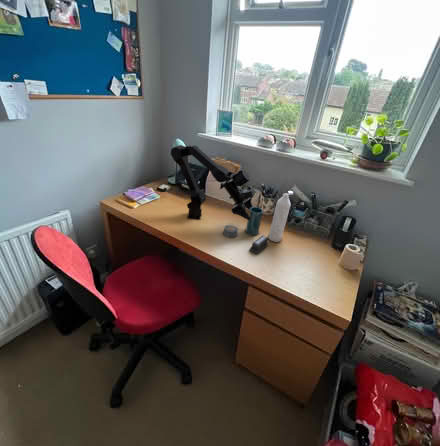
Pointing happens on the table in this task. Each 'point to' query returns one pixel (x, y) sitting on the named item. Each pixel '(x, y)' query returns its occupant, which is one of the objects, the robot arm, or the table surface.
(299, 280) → the table surface
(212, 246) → the table surface
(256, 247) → the stapler
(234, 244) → the table surface
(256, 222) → the pen pot
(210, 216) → the table surface
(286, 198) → the water bottle
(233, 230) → the tape roll
